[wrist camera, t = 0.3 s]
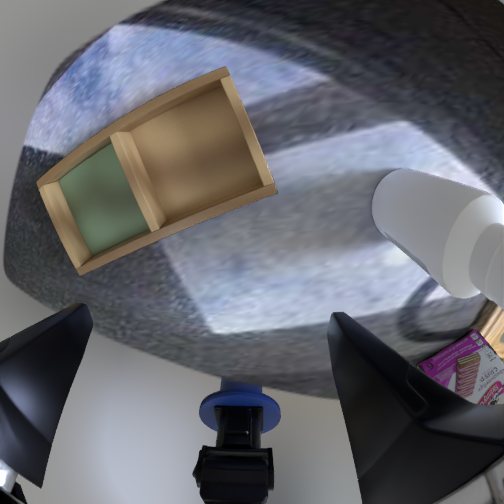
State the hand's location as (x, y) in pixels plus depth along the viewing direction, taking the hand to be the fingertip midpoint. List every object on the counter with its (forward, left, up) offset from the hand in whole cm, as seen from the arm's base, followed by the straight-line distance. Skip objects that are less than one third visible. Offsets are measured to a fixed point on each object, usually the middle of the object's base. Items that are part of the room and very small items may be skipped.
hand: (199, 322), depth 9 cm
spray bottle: (+1, -15, -15) cm, 22 cm away
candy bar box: (-20, -29, -15) cm, 39 cm away
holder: (+4, +7, -15) cm, 17 cm away
